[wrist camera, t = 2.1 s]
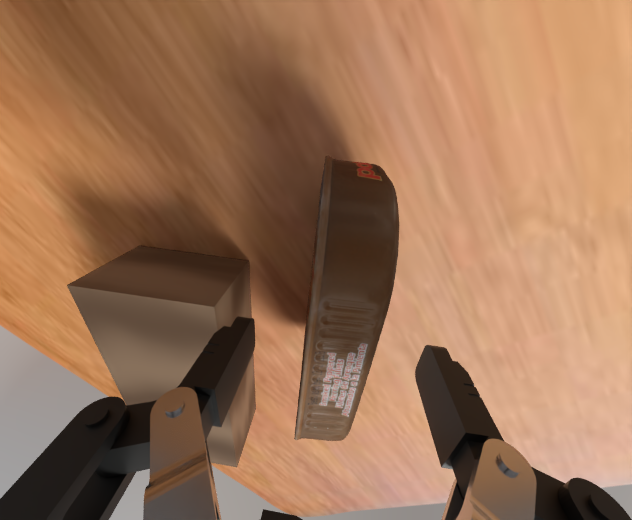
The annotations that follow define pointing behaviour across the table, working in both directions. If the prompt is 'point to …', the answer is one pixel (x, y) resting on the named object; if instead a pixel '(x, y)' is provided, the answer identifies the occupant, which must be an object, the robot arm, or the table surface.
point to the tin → (346, 294)
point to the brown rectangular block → (168, 327)
